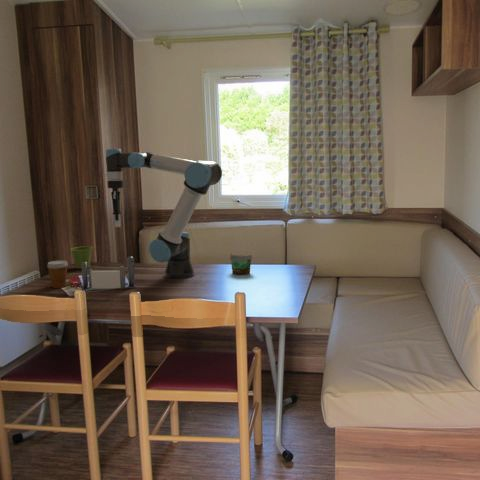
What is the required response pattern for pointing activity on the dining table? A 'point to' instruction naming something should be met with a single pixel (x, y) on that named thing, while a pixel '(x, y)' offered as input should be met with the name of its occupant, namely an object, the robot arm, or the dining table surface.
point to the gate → (107, 278)
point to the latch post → (131, 272)
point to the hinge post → (84, 276)
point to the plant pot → (82, 255)
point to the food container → (240, 264)
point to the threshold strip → (106, 288)
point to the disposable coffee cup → (58, 273)
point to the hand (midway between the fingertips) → (117, 226)
